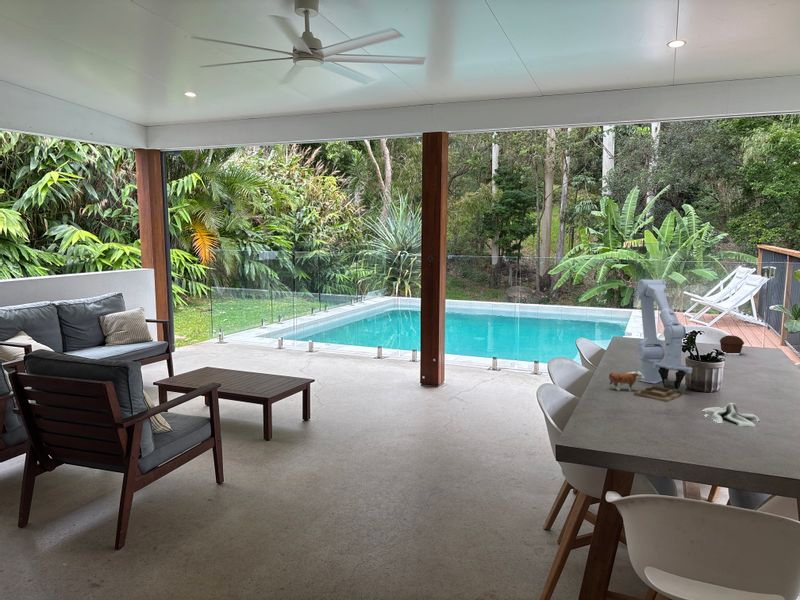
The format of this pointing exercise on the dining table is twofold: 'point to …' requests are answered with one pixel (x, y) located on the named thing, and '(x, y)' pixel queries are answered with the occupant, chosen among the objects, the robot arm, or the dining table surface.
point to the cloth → (731, 415)
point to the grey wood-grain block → (670, 384)
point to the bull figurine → (625, 379)
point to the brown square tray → (658, 393)
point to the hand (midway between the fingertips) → (671, 387)
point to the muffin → (731, 344)
